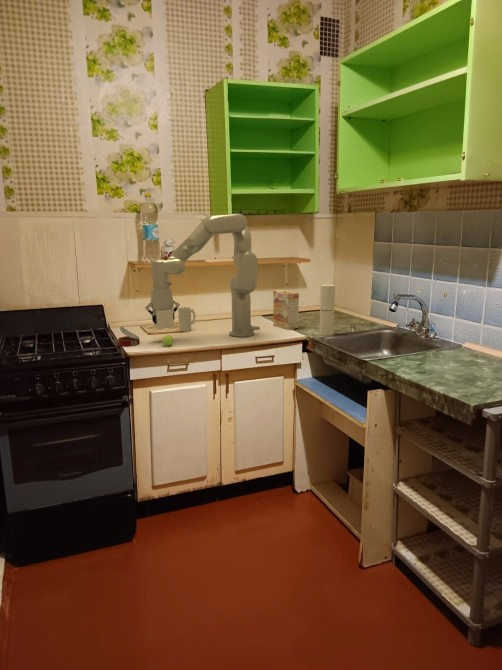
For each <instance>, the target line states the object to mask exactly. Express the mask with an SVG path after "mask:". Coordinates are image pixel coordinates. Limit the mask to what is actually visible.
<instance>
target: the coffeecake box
mask: <svg viewBox="0 0 502 670" xmlns="http://www.w3.org/2000/svg"><path fill="white" fill-rule="evenodd" d="M272 294H273V299H272V300H273V301H272V303H273V307H272V308H273V311H272V312H273V320H272V321H273V326H275V327H278V328H281V329H283V330H287V329H288V330H287V331H290V330H289V329H292V330H296V329H295V328H298V329H299V315H300V314H299V311H300V310H299V303H300V300H299V298H300V293H299V292H295V291H292V290H287V289H274V290H273V293H272Z"/></svg>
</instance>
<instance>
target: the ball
mask: <svg viewBox="0 0 502 670" xmlns="http://www.w3.org/2000/svg"><path fill="white" fill-rule="evenodd" d="M161 342H162V344H163V345H164V346H165V347H166V346H167V347H170V346H171V345H173V344H174V338H173V336H172V335H169V334H167V335H164V336H163V338H162V341H161Z"/></svg>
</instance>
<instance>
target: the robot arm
mask: <svg viewBox="0 0 502 670" xmlns="http://www.w3.org/2000/svg"><path fill="white" fill-rule="evenodd" d="M223 234H225V235H226V234H231V235H232V237H233V256H232V257H233V258H232V261H233V265H234V267H235V268H236V269H238V272H235V273H233V274H232V276H231V277H230V280H229V282H230V283H229V284H230V285H229V287H230V294H231V330H230V331H229V333H228V335H229V336H231V337H235V338H247V337H252V336H253V335H255V333H254V331H259V330H260V329H261V327H260V326H259V325H258V326H257V325H252V323H251V322H252V321H251V320H252V316H251V315H252V309H251V308H252V307H251V306H252V305H251V302H252V301H251V300H252V299H251V294H252V293H253V292H254V291H255V289H256V288H257V284H258V270H259V268H258V267H259V261H258V260H259V259H258V257H257V255H256V254H255V253H254V252H252V234H251V230H250V229H249V228H248V220H247V218H246V216H245V215H244V214H242V213H231V214H224V215H222V214H221V215H207V216H205V217H204V218H203V220H201V221H200V223H199V224H198V225H197V226H196V228H195V229H193V230H192V232H191V233H190V234H189V235H188V236H187V238H186V239H185V240H183V242H182V243H180V244H179V245H178V247H176V248H175V249H174V250H173V252H172V253H171V254H170V255H169V257H168V258H167V259H164V258H161V259H153V260H151V262H150V266H151V279H152V289H151V291H150V302H149V303H148V304H147V305H146V306H145V307H144V309H145V310H146V311H147V312H148V313H149V314H150V315H151V318H152V323H155V324H156V323H157V322H156V316H155V313H156V312H155V310H164V309H173V321H174V320H175V319H176V318H175V314H176V312H178V308H180V306H181V305H180V303H179V302H177V301H175V300H174V297H173V293H172V289H171V287H170V286H173V283H172V282H170V281H169V275H175V276H176V275H177V276H178V275H180V274H183V272H184V271H185V269H186V264H185V263H186V262H187V260H188V259H189V258H190V257H192V256H193V255H195V254H197V253H199V252H200V251H201V250H203V249H204V248H205V246H206V245H207V244H208V242H210V240H211V239H212V238H213V237H214V236H215V235H223ZM174 305H175V307H174ZM150 308H151V309H152V310H151V309H150ZM174 322H175V321H174Z"/></svg>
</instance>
